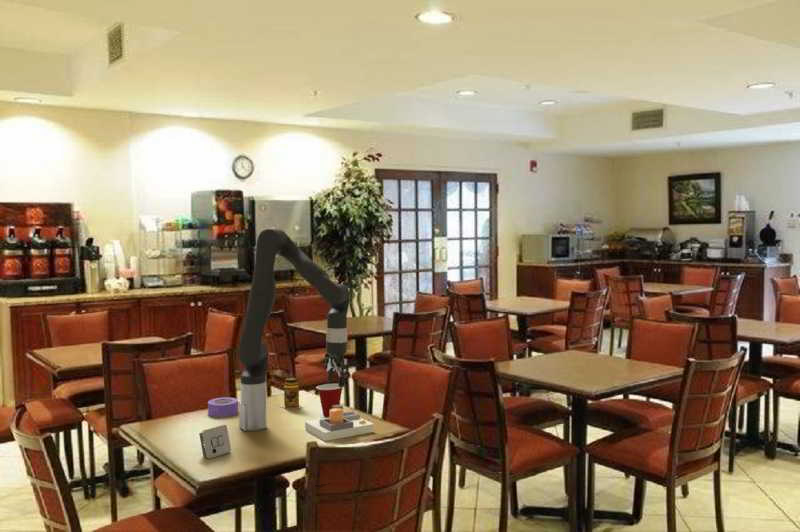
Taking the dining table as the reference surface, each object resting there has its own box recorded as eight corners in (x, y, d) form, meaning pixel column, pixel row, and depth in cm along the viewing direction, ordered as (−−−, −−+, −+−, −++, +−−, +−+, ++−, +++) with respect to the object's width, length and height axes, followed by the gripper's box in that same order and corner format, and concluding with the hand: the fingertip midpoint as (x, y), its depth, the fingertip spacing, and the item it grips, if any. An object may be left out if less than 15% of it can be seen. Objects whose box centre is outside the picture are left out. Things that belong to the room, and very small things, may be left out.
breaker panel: (324, 441, 239) (324, 427, 239) (305, 429, 253) (305, 416, 252) (373, 431, 250) (373, 418, 250) (352, 421, 264) (352, 408, 263)
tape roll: (228, 418, 268) (228, 405, 268) (202, 415, 272) (202, 403, 271) (243, 410, 280) (243, 398, 279) (218, 408, 283) (218, 396, 283)
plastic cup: (329, 409, 280) (329, 381, 280) (349, 414, 274) (349, 384, 273) (310, 415, 272) (310, 385, 271) (331, 420, 265) (330, 389, 265)
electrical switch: (208, 460, 220) (206, 431, 220) (198, 458, 223) (196, 429, 223) (231, 452, 227) (229, 424, 227) (222, 451, 230) (220, 423, 230)
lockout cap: (333, 429, 243) (333, 412, 243) (327, 425, 247) (327, 409, 247) (345, 427, 246) (345, 410, 246) (339, 423, 250) (339, 407, 250)
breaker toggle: (335, 420, 253) (335, 407, 253) (332, 418, 256) (332, 405, 256) (343, 419, 255) (343, 406, 255) (339, 417, 257) (339, 404, 257)
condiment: (287, 410, 280) (287, 381, 279) (278, 405, 287) (278, 377, 286) (303, 407, 284) (303, 379, 283) (294, 403, 291) (294, 375, 290)
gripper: (318, 337, 249) (318, 381, 250) (336, 343, 237) (336, 389, 238) (336, 336, 253) (336, 379, 254) (355, 342, 241) (354, 387, 242)
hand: (336, 384), depth 246 cm, fingers open, 8 cm apart
